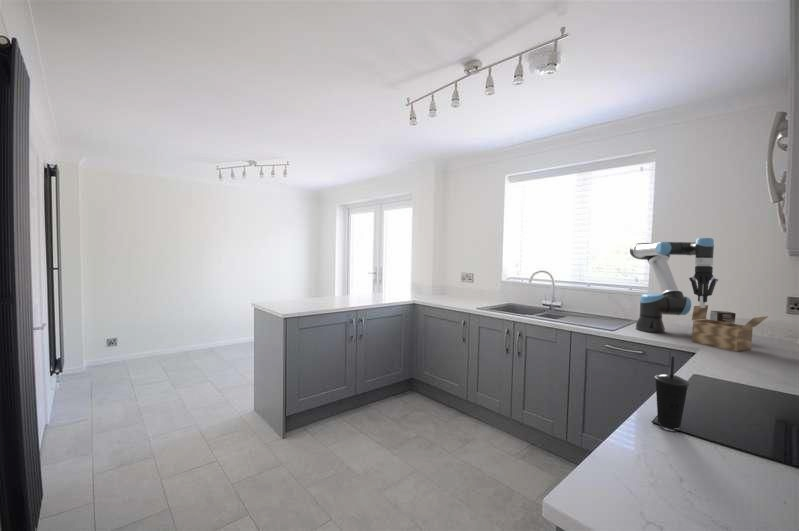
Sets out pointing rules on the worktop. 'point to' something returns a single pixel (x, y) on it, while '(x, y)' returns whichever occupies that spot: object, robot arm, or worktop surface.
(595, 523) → the worktop surface
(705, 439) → the worktop surface
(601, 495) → the worktop surface
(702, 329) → the carton
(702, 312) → the flap
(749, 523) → the worktop surface
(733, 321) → the coffee box
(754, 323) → the flap
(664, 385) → the drinking cup
